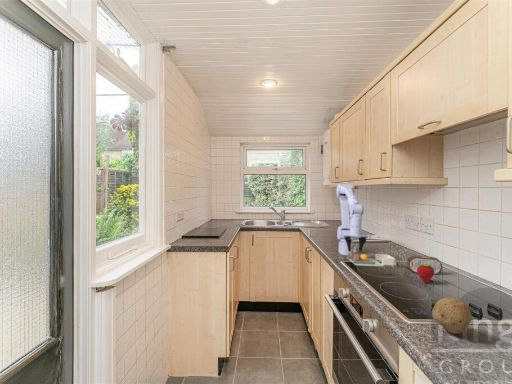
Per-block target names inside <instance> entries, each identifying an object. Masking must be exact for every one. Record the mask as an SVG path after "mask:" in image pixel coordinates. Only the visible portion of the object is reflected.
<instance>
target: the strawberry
mask: <svg viewBox="0 0 512 384" xmlns="http://www.w3.org/2000/svg"><path fill="white" fill-rule="evenodd" d="M422 264H423V263H422ZM416 274H417V275H418V277H419V278H420V280H421V281H422V282H423V283H424V284H427V283H429V282H430V280H431V279H432V278H433V277H434V269H433V268H432V266H431V265H426V264H423V265H422V266H419V267H418V268H417V273H416Z"/></svg>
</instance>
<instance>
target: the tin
mask: <svg viewBox="0 0 512 384" xmlns="http://www.w3.org/2000/svg"><path fill="white" fill-rule="evenodd" d="M422 263H423V264H426V265H431V266H432V268H433V269H434V275H435V276H436V275H439V274H440V273H441V272H442V270H443V264H442V262H441V261H440V259H438V258H437V257H434V256H427V255H415V254H414V255H411V256H409V258H408V259H407V261H406V266H407V267H408V269H409V270H410V272H412V273H416V274H418V273H417V268H418V267H419V266H422V265H423V264H422ZM434 275H433V276H434Z"/></svg>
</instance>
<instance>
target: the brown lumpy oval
mask: <svg viewBox="0 0 512 384" xmlns="http://www.w3.org/2000/svg"><path fill="white" fill-rule="evenodd" d="M472 315H473V314H472V311H471V309H470V308H469V307H468V305H467V304H466V303H465V302H464V301H462V300H460V299H457V298H455V297H443V298H441V299H438V300H437V302H436V303H435V304H434V306H433V308H432V311H431V316H432V318H433V320H434V321H435V322H436V323H437V324H438V325H439V326H441V327H442V328H444V329H445V330H446V331H447V332H448V333H451V334H452V333H453V334H452V335H458V334H461V333H463V332H465V331H466V329H467V328H468V327H469V325H470V323H471V321H472V317H473V316H472Z"/></svg>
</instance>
